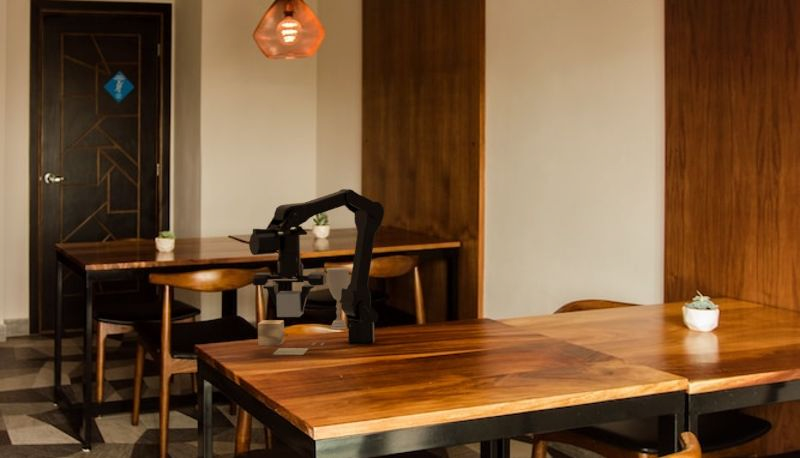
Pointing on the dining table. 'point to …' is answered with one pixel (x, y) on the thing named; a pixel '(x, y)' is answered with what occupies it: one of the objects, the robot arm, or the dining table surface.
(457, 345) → the dining table surface
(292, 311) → the slate block
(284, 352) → the mat
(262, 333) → the birch block
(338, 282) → the chalice
